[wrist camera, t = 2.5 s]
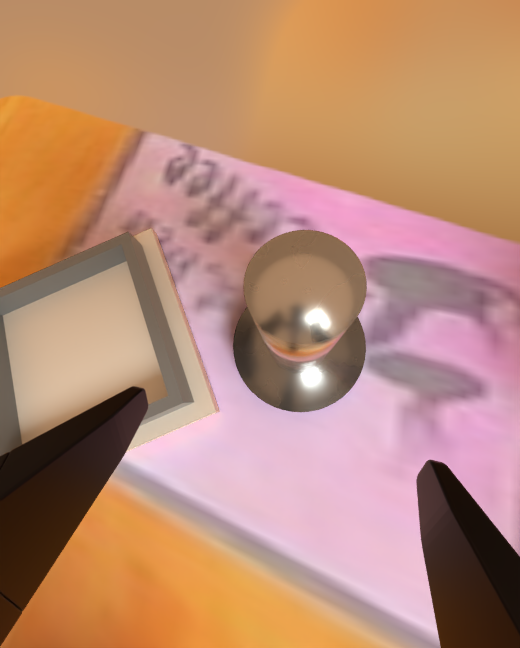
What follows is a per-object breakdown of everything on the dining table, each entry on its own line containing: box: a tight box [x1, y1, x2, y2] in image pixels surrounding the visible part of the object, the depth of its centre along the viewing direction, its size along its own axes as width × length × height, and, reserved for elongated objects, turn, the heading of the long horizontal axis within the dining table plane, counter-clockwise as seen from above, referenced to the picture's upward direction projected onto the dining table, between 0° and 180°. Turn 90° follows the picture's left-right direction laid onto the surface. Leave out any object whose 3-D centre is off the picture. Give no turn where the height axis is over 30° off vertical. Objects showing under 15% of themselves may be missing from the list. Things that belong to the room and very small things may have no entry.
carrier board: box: [0, 228, 219, 456], centre depth 21 cm, size 16×16×3 cm
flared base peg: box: [233, 230, 367, 412], centre depth 15 cm, size 9×9×12 cm
